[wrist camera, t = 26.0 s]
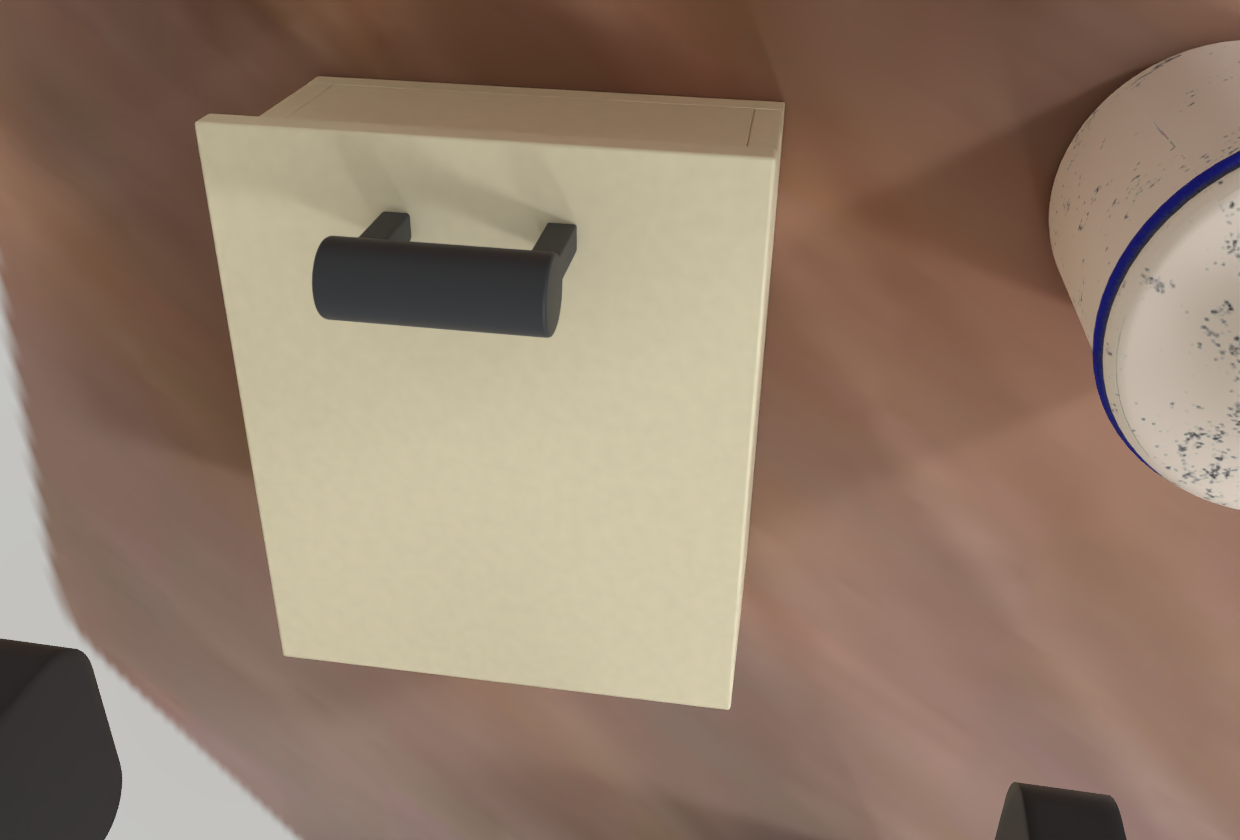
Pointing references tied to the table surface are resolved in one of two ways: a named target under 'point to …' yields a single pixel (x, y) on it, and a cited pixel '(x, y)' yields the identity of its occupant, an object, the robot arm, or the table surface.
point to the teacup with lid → (1162, 263)
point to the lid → (498, 394)
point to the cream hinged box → (553, 130)
